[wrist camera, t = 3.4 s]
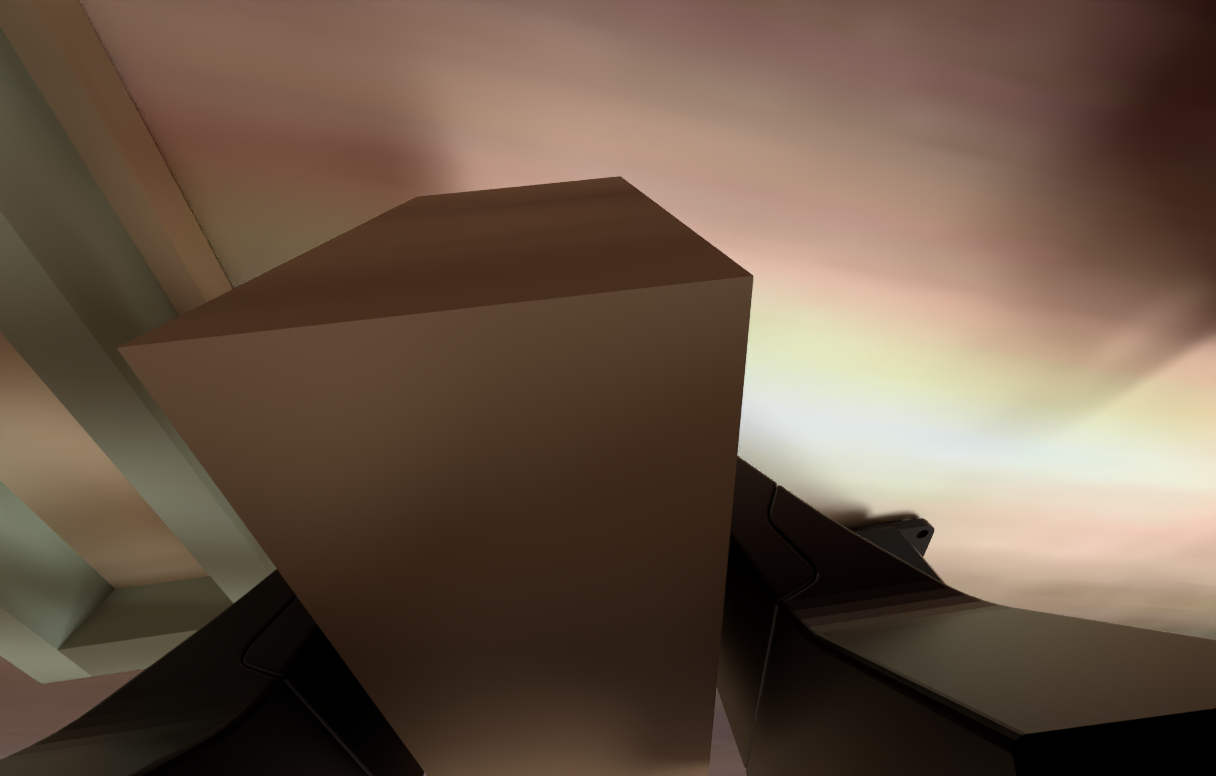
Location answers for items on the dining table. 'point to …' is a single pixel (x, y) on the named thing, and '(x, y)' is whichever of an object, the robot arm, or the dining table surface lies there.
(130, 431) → the track
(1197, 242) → the dining table surface
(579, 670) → the brown rectangular block
